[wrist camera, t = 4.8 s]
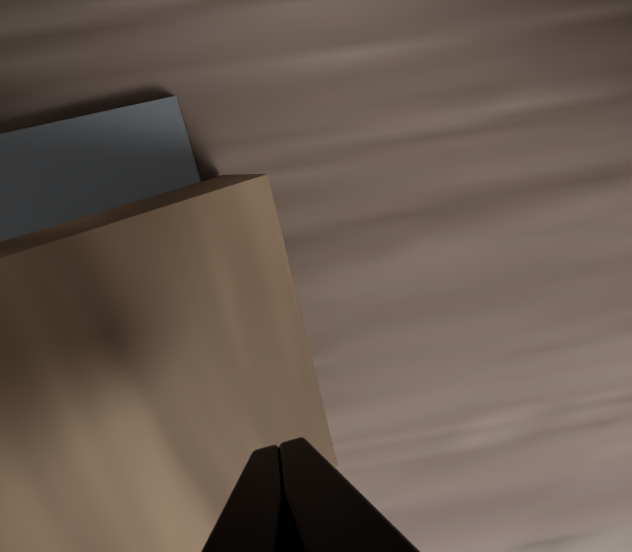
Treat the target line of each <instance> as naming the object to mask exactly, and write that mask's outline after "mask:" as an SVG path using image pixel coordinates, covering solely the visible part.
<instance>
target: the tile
mask: <svg viewBox="0 0 632 552" xmlns="http://www.w3.org/2000/svg"><path fill="white" fill-rule="evenodd" d="M299 437H303V438H305V439H306V440H307V441H308V442H309V443H310V444H311V445H312V446H313V447H314V448H315V449H316V450H317V451H318V452H319V453H320V454H321V455H322V456H323V457H324V458H325V459H326V460H327V461H329V462H330V463H331V464H332V465H333V466H334V467H336V466H337V462H336V458H335V454H334V449H333V445H332V441H331V437H330V433H329V428H328V424H327V420H326V416H325V412H324V408H323V403H322V399H321V395H320V391H319V387H318V382H317V378H316V374H315V370H314V366H313V361H312V357H311V353H310V349H309V345H308V341H307V336H306V332H305V328H304V324H303V320H302V315H301V311H300V307H299V303H298V299H297V295H296V290H295V286H294V282H293V278H292V274H291V269H290V265H289V261H288V257H287V253H286V249H285V244H284V240H283V236H282V232H281V228H280V223H279V219H278V215H277V211H276V207H275V203H274V198H273V194H272V190H271V186H270V182H269V177H268V174H244V175H222V176H219V177H215V178H212V179H209V180H205V181H202V182H199V183H195V184H192V185H189V186H185V187H182V188H178V189H175V190H172V191H168V192H165V193H162V194H158V195H155V196H152V197H148V198H145V199H142V200H138V201H135V202H132V203H128V204H125V205H122V206H118V207H115V208H112V209H108V210H105V211H102V212H98V213H95V214H92V215H88V216H85V217H81V218H78V219H75V220H71V221H68V222H65V223H61V224H58V225H55V226H51V227H48V228H45V229H41V230H38V231H35V232H31V233H28V234H25V235H21V236H18V237H15V238H11V239H8V240H5V241H1V242H0V552H201V551H202V549H203V547H204V545H205V543H206V541H207V539H208V537H209V535H210V533H211V531H212V529H213V528H214V526H215V524H216V522H217V520H218V518H219V516H220V514H221V512H222V510H223V508H224V506H225V504H226V502H227V500H228V498H229V496H230V494H231V492H232V491H233V489H234V487H235V485H236V483H237V481H238V479H239V477H240V475H241V473H242V471H243V469H244V467H245V465H246V463H247V461H248V459H249V457H250V455H251V454H252V452H253V451H254V450H256V449H260V448H263V447H267V446H271V445H277V446H278V447H279V446H280V444H281V443H282V442H285V441H288V440H292V439H295V438H299Z"/></svg>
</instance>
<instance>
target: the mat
mask: <svg viewBox="0 0 632 552" xmlns="http://www.w3.org/2000/svg"><path fill="white" fill-rule="evenodd" d="M199 182H201V180H200V177H199V173H198V170H197V166H196V163H195V159H194V156H193V152H192V149H191V145H190V142H189V138H188V135H187V131H186V128H185V124H184V121H183V117H182V114H181V110H180V107H179V103H178V100H177V96H172V97H168V98H163V99H158V100H154V101H149V102H145V103H140V104H135V105H131V106H126V107H121V108H117V109H112V110H108V111H103V112H98V113H94V114H89V115H85V116H80V117H75V118H71V119H66V120H62V121H57V122H52V123H48V124H43V125H39V126H34V127H29V128H25V129H20V130H16V131H11V132H6V133H2V134H0V242H1V241H5V240H8V239H11V238H15V237H18V236H21V235H25V234H28V233H31V232H35V231H38V230H41V229H45V228H48V227H51V226H55V225H58V224H61V223H65V222H68V221H71V220H75V219H78V218H81V217H85V216H88V215H92V214H95V213H98V212H102V211H105V210H108V209H112V208H115V207H118V206H122V205H125V204H128V203H132V202H135V201H138V200H142V199H145V198H148V197H152V196H155V195H158V194H162V193H165V192H168V191H172V190H175V189H178V188H182V187H185V186H189V185H192V184H195V183H199Z"/></svg>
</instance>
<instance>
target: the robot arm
mask: <svg viewBox="0 0 632 552" xmlns="http://www.w3.org/2000/svg"><path fill="white" fill-rule="evenodd" d="M201 552H420V551H419V550H418V549H417V548H416V547H415V546H414V545H413V544H412V543H411V542H410V541H409V540H408V539H407V538H406V537H405V536H404V535H403V534H402V533H401V532H400V531H399V530H397V529H396V528H395V527H394V526H393V525H392V524H391V523H390V522H389V521H388V520H387V519H386V518H385V517H384V516H383V515H382V514H381V513H380V512H379V511H378V510H377V509H376V508H375V507H374V506H373V505H372V504H371V503H370V502H369V501H368V500H367V499H366V498H365V497H364V496H363V495H362V494H361V493H360V492H359V491H358V490H357V489H356V488H355V487H354V486H353V485H352V484H351V483H350V482H349V481H348V480H347V479H346V478H345V477H344V476H343V475H342V474H341V473H340V472H339V471H338V470H337V469H336V468H335V467H334V466H333V465H332V464H331V463H330V462H329V461H327V460H326V459H325V458H324V457H323V456H322V455H321V454H320V453H319V452H318V451H317V450H316V449H315V448H314V447H313V446H312V445H311V444H310V443H309V442H308V441H307V440H306V439H305V438H303V437H299V438H295V439H292V440H288V441H285V442H282V443H281V444H280V446H279V447H278V446H277V445H271V446H267V447H263V448H260V449H256V450H254V451H253V452H252V454H251V455H250V457H249V459H248V461H247V463H246V465H245V467H244V469H243V471H242V473H241V475H240V477H239V479H238V481H237V483H236V485H235V487H234V489H233V491H232V492H231V494H230V496H229V498H228V500H227V502H226V504H225V506H224V508H223V510H222V512H221V514H220V516H219V518H218V520H217V522H216V524H215V526H214V528H213V529H212V531H211V533H210V535H209V537H208V539H207V541H206V543H205V545H204V547H203V549H202V551H201Z"/></svg>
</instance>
